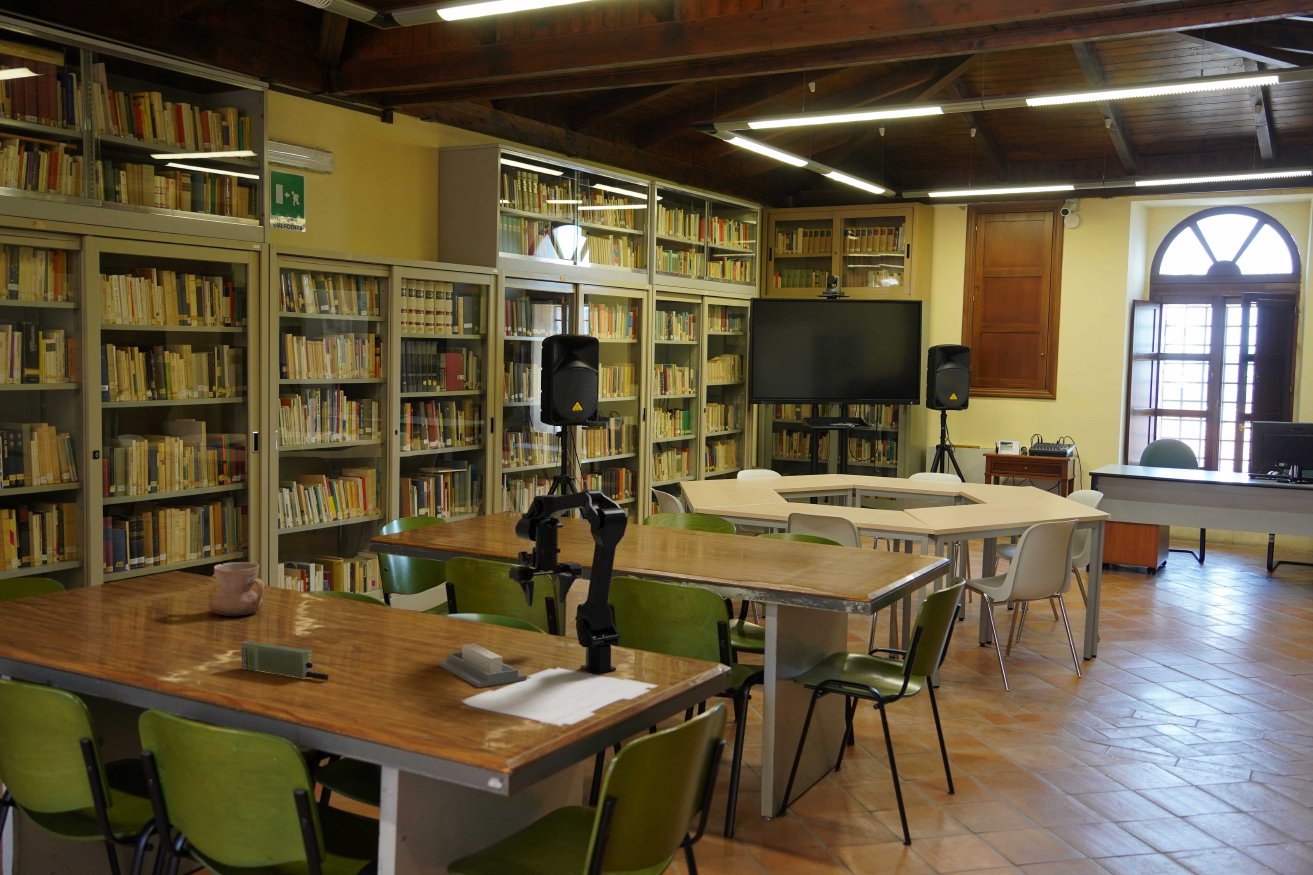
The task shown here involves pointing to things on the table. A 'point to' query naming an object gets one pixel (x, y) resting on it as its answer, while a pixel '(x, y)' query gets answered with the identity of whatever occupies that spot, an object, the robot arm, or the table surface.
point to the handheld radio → (278, 660)
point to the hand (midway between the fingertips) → (545, 604)
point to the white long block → (482, 658)
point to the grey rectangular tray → (479, 672)
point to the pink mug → (237, 589)
